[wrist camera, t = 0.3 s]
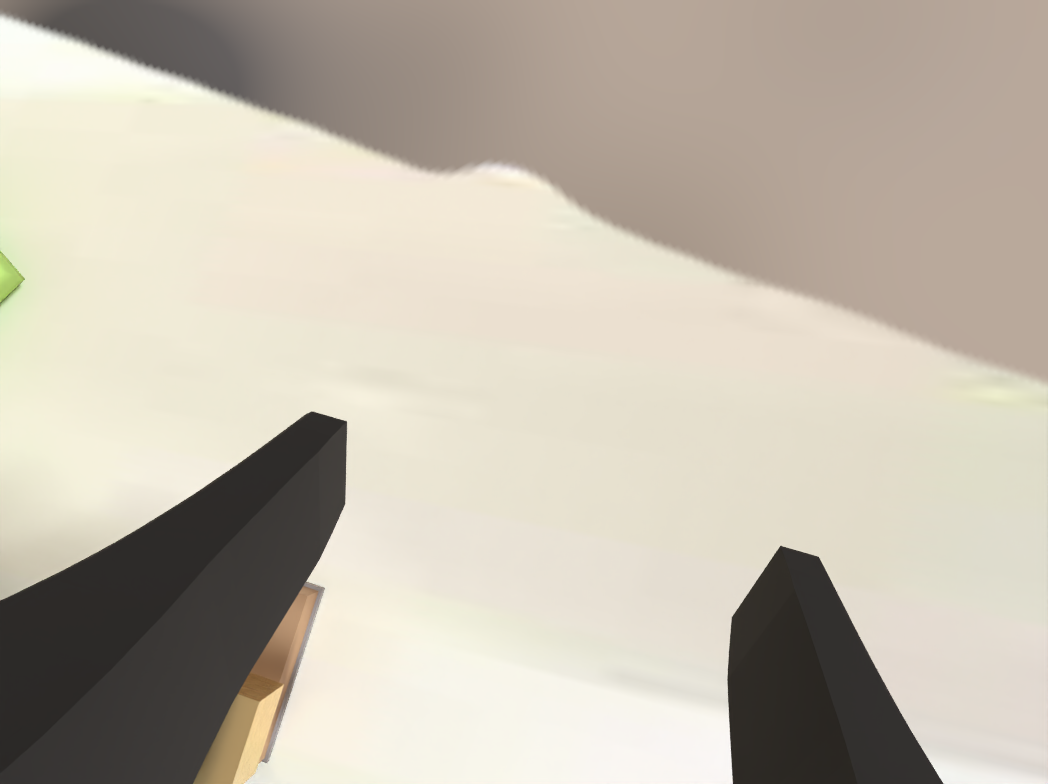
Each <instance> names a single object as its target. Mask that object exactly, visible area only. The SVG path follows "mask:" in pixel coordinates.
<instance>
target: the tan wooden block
mask: <svg viewBox="0 0 1048 784" xmlns="http://www.w3.org/2000/svg"><path fill="white" fill-rule="evenodd" d="M283 686H284V684H282V683H279V682H276V681H274V680H271V679H268V678H265V677H262V676H260V675H257V674H254V673H251V672H250V673H249V675H248V677H247V678H246V680H245V682H244V684H243V685H242V687H241V689H240V691H239V693H238V694H237V696H236V698H235V700H234V701H233V703H232V705H231V707H230V709H229V711H228V713H227V715H226V717H225V719H224V721H223V723H222V725H221V727H220V729H219V732H218V734H217V736H216V738H215V740H214V742H213V744H212V746H211V748H210V750H209V752H208V754H207V756H206V758H205V760H204V762H203V764H202V766H201V768H200V770H199V772H198V774H197V776H196V779H195V781H194V783H193V784H244V783H245V782H246V781H247V780H248V779H249V778H250V777H251V776H252V775H254V774H255V772H256V769H257V766H258V763H259V760H260V757H261V754H262V751H263V748H264V745H265V742H266V739H267V735H268V732H269V729H270V726H271V723H272V720H273V717H274V714H275V711H276V708H277V705H278V702H279V699H280V696H281V692H282V689H283Z"/></svg>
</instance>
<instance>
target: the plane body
mask: <svg viewBox="0 0 1048 784" xmlns="http://www.w3.org/2000/svg"><path fill="white" fill-rule="evenodd" d="M324 589H325V588H323V587H320V586H317V585H314V584H311V583H308V582H305V584H304V586H303V587H302V589H301V591H300V592H299V594H298V595H297V597H296V599H295V600H294V602H293V604H292V605H291V607H290V608H289V610H288V612H287V613H286V615H285V617H284V618H283V620H282V621H281V623H280V625H279V626H278V628H277V629H276V631H275V633H274V634H273V636H272V638H271V639H270V641H269V642H268V644H267V646H266V647H265V649H264V651H263V652H262V654H261V655H260V657H259V659H258V660H257V662H256V664H255V665H254V667H253V668H252V670H251V673H254V674H257V675H260V676H262V677H265V678H268V679H271V680H274V681H276V682H279V683H282V684H284V686H283V689H282V692H281V696H280V699H279V702H278V705H277V708H276V711H275V714H274V717H273V720H272V723H271V726H270V729H269V732H268V735H267V739H266V742H265V745H264V748H263V751H262V754H261V757H260V760H259V763H260V762H261V761H262V762H265V763H267V762H268V761H269V758H270V755H271V752H272V749H273V746H274V743H275V740H276V737H277V734H278V731H279V728H280V725H281V721H282V718H283V715H284V712H285V709H286V706H287V703H288V700H289V697H290V694H291V691H292V688H293V684H294V681H295V678H296V675H297V672H298V669H299V666H300V663H301V660H302V657H303V654H304V650H305V647H306V644H307V641H308V638H309V635H310V632H311V629H312V626H313V623H314V620H315V617H316V613H317V610H318V607H319V604H320V601H321V598H322V595H323V592H324ZM259 763H258V764H259Z"/></svg>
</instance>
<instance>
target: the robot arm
mask: <svg viewBox="0 0 1048 784" xmlns="http://www.w3.org/2000/svg"><path fill="white" fill-rule="evenodd" d="M346 443H347V421H343V420H340V419H336V418H333V417H329V416H326V415H323V414H319V413H316V412H310V413H308V414H306V415H304V416H303V417H302V418H300V419H299V420H298V421H296V422H295V423H294V424H292V425H291V426H290V427H288V428H287V429H286V430H284V431H283V432H281V433H280V434H279V435H277V436H276V437H275V438H273V439H272V440H271V441H269V442H268V443H267V444H265V445H264V446H263V447H261V448H260V449H258V450H257V451H256V452H254V453H253V454H251V455H250V456H249V457H247V458H246V459H245V460H243V461H242V462H240V463H239V464H238V465H236V466H235V467H233V468H232V469H230V470H229V471H227V472H226V473H224V474H223V475H221V476H220V477H219V478H217V479H216V480H214V481H213V482H211V483H210V484H208V485H207V486H205V487H204V488H203V489H201V490H200V491H198V492H197V493H195V494H194V495H192V496H190V497H189V498H187V499H186V500H184V501H183V502H181V503H179V504H178V505H176V506H175V507H173V508H171V509H170V510H168V511H167V512H165V513H163V514H162V515H160V516H158V517H157V518H155V519H154V520H152V521H150V522H149V523H147V524H146V525H144V526H142V527H141V528H139V529H137V530H136V531H134V532H132V533H131V534H129V535H127V536H125V537H124V538H122V539H120V540H118V541H117V542H115V543H113V544H111V545H110V546H108V547H106V548H104V549H102V550H101V551H99V552H97V553H95V554H93V555H91V556H89V557H88V558H86V559H84V560H82V561H80V562H78V563H76V564H74V565H72V566H71V567H69V568H67V569H65V570H63V571H61V572H59V573H57V574H55V575H53V576H51V577H49V578H47V579H45V580H42V581H40V582H38V583H36V584H34V585H32V586H30V587H28V588H26V589H24V590H22V591H20V592H18V593H16V594H14V595H12V596H10V597H8V598H5V599H3V600H1V601H0V784H193V783H194V781H195V779H196V776H197V774H198V772H199V770H200V768H201V766H202V764H203V762H204V760H205V758H206V756H207V754H208V752H209V750H210V748H211V746H212V744H213V742H214V740H215V738H216V736H217V734H218V732H219V729H220V727H221V725H222V723H223V721H224V719H225V717H226V715H227V713H228V711H229V709H230V707H231V705H232V703H233V701H234V700H235V698H236V696H237V694H238V693H239V691H240V689H241V687H242V685H243V684H244V682H245V680H246V678H247V677H248V675H249V673H250V672H251V670H252V668H253V667H254V665H255V664H256V662H257V660H258V659H259V657H260V655H261V654H262V652H263V651H264V649H265V647H266V646H267V644H268V642H269V641H270V639H271V638H272V636H273V634H274V633H275V631H276V629H277V628H278V626H279V625H280V623H281V621H282V620H283V618H284V617H285V615H286V613H287V612H288V610H289V608H290V607H291V605H292V604H293V602H294V600H295V599H296V597H297V595H298V594H299V592H300V591H301V589H302V587H303V586H304V584H305V582H306V581H307V579H308V577H309V576H310V574H311V573H312V571H313V569H314V568H315V566H316V564H317V563H318V561H319V559H320V557H321V555H322V553H323V551H324V549H325V547H326V545H327V543H328V541H329V538H330V536H331V534H332V532H333V530H334V528H335V525H336V523H337V521H338V519H339V517H340V514H341V512H342V510H343V508H344V505H345V489H346ZM728 702H729V722H730V740H731V758H732V775H733V784H943V782H942V781H941V779H940V778H939V776H938V774H937V773H936V771H935V769H934V768H933V766H932V764H931V763H930V761H929V760H928V758H927V756H926V755H925V753H924V751H923V750H922V748H921V746H920V745H919V743H918V741H917V740H916V738H915V737H914V735H913V733H912V732H911V730H910V728H909V726H908V725H907V723H906V721H905V720H904V718H903V716H902V714H901V713H900V711H899V709H898V707H897V705H896V704H895V702H894V700H893V698H892V696H891V695H890V693H889V691H888V689H887V687H886V685H885V684H884V682H883V680H882V678H881V676H880V675H879V673H878V671H877V669H876V667H875V665H874V664H873V662H872V660H871V658H870V656H869V654H868V652H867V650H866V648H865V646H864V645H863V643H862V641H861V639H860V637H859V635H858V633H857V631H856V629H855V627H854V625H853V623H852V621H851V619H850V617H849V615H848V613H847V611H846V609H845V607H844V606H843V604H842V602H841V600H840V598H839V596H838V594H837V592H836V590H835V588H834V586H833V584H832V582H831V580H830V578H829V576H828V574H827V572H826V570H825V568H824V566H823V564H822V562H821V560H820V558H819V557H817V556H814V555H810V554H807V553H803V552H800V551H796V550H793V549H789V548H786V547H782V546H780V547H779V549H778V550H777V552H776V553H775V555H774V556H773V558H772V559H771V561H770V562H769V564H768V565H767V567H766V568H765V570H764V571H763V572H762V574H761V575H760V577H759V578H758V580H757V581H756V583H755V584H754V586H753V587H752V589H751V590H750V592H749V593H748V595H747V596H746V598H745V599H744V600H743V602H742V603H741V605H740V606H739V608H738V609H737V611H736V612H735V614H734V615H733V617H732V623H731V635H730V647H729V663H728Z"/></svg>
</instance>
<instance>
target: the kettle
mask: <svg viewBox="0 0 1048 784" xmlns="http://www.w3.org/2000/svg"><path fill="white" fill-rule="evenodd" d="M23 280H25V279H24V277H23V276H22V275H21V274H20V273H19V272H18V271H17V269H16V268H15V267H14V266H13V265H12V264H11V263H10V261H9V260H8V259H7V258H6V257H5V256H4V255H3V253H2V252H1V251H0V303H1V302H2V301H3V300H4V299H5V298H6V297H7V296H8V295H9V294H10V293H11V292H12V291H13V290H14V289H15V288H16V287H17V286H18V285H19V284H20V283H21V282H22V281H23Z"/></svg>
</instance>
